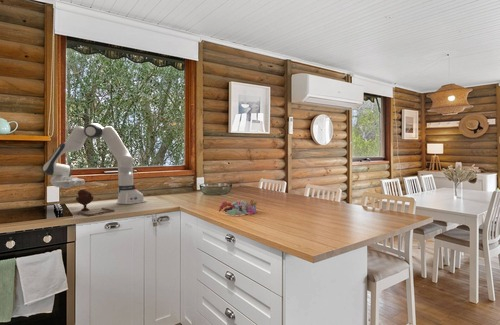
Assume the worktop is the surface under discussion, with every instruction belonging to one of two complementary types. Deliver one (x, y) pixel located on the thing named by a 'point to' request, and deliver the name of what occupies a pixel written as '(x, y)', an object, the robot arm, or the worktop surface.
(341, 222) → the worktop surface
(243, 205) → the coral reef ornament
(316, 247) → the worktop surface
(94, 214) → the walnut bay
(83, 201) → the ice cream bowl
